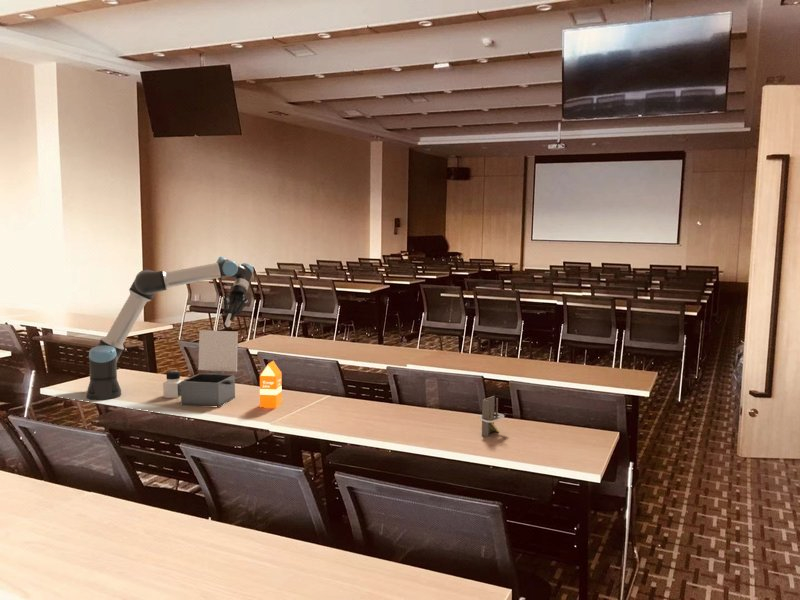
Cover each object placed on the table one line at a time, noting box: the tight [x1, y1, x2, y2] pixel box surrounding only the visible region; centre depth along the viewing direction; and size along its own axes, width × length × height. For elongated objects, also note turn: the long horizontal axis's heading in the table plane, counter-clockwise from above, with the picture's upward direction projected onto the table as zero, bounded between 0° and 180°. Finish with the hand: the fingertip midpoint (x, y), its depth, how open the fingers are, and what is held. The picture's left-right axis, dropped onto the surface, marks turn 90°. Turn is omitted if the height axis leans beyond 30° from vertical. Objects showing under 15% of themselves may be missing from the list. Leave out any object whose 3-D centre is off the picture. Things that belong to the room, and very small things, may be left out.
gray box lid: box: [198, 329, 239, 375], centre depth 305 cm, size 20×19×3 cm
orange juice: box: [259, 360, 283, 409], centre depth 290 cm, size 8×9×20 cm
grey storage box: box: [180, 373, 236, 408], centre depth 295 cm, size 18×23×11 cm
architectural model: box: [478, 395, 505, 438], centre depth 251 cm, size 20×25×15 cm
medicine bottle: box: [162, 370, 184, 399], centre depth 305 cm, size 7×7×12 cm
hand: (227, 325), depth 314 cm, fingers closed
